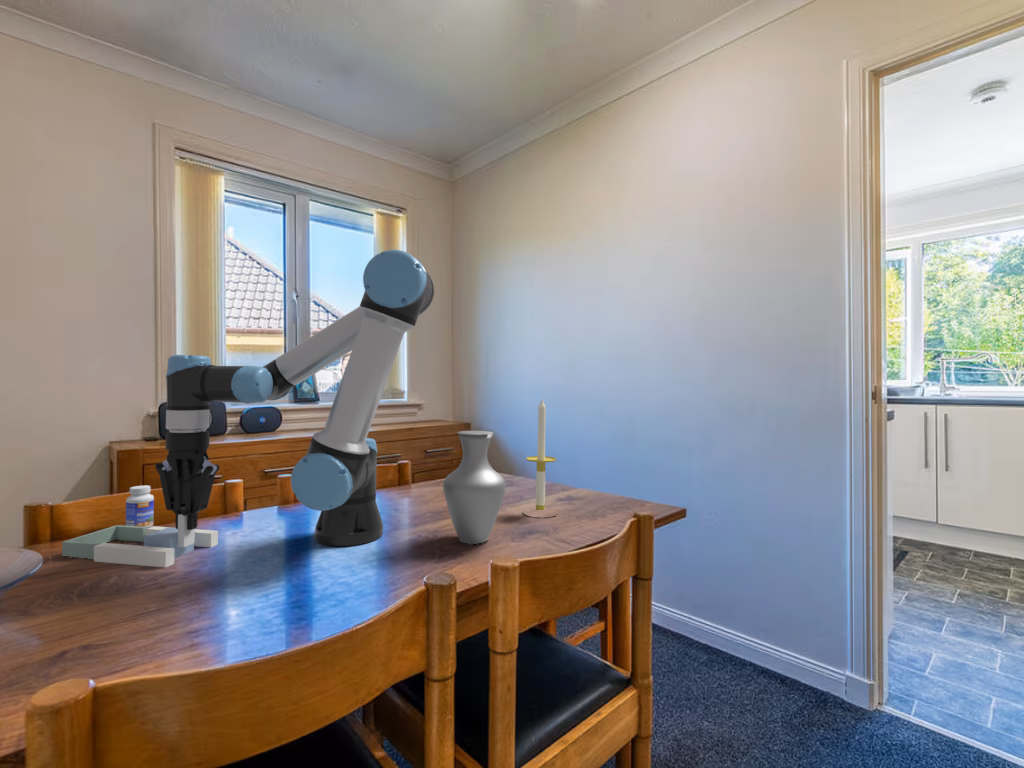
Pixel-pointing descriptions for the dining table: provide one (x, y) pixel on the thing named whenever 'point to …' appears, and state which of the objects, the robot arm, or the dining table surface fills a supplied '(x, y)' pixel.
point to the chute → (148, 550)
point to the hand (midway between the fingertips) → (186, 544)
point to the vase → (474, 490)
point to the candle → (541, 458)
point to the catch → (101, 540)
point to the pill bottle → (140, 507)
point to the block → (167, 541)
